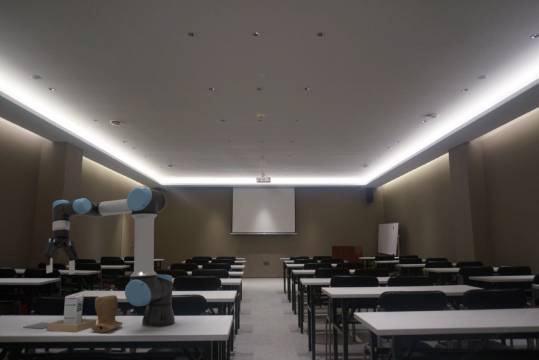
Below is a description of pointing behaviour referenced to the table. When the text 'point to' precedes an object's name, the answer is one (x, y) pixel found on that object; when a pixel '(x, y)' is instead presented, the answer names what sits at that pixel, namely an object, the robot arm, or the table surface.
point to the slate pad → (38, 325)
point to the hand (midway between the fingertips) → (61, 273)
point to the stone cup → (106, 313)
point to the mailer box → (71, 325)
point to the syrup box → (73, 309)
